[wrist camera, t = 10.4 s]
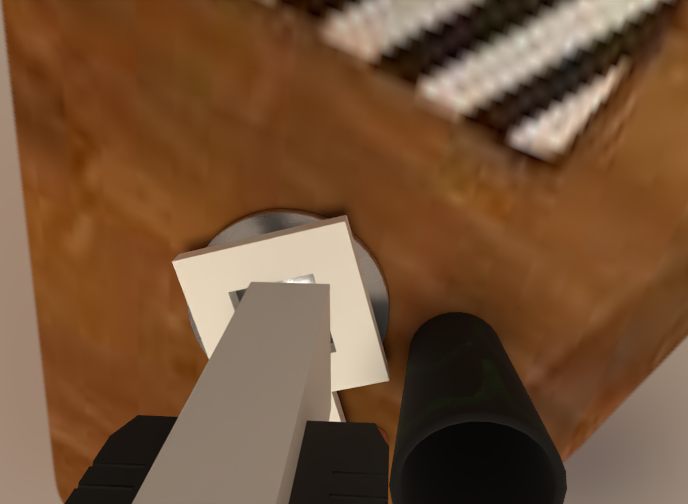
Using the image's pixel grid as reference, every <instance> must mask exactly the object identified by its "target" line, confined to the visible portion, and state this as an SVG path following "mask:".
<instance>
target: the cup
mask: <svg viewBox="0 0 688 504" xmlns="http://www.w3.org/2000/svg"><path fill="white" fill-rule="evenodd" d="M389 486H390V492H391V498H392V503H393V504H563V502H564V498H565V494H566V490H567V484H566V471H565V469H564V465H563V463H562V460H561V457H560V455H559V453H558V451H557V449H556V447H555V445H554V443H553V441H552V439H551V438H550V436H549V434H548V432H547V430H546V428H545V426H544V424H543V422H542V420H541V418H540V416H539V415H538V413H537V411H536V409H535V407H534V405H533V403H532V401H531V399H530V397H529V395H528V393H527V391H526V390H525V388H524V386H523V384H522V382H521V380H520V378H519V376H518V374H517V372H516V370H515V368H514V367H513V365H512V363H511V361H510V359H509V357H508V355H507V353H506V351H505V349H504V347H503V345H502V344H501V342H500V340H499V338H498V336H497V334H496V333H495V331H494V330H493V329H492V327H491V326H490V325H488V324H487V323H486V322H485V321H484V320H482V319H480V318H478V317H476V316H474V315H470V314H466V313H446V314H441V315H438V316H436V317H434V318H432V319H430V320H428V321H427V322H426V323H424V324H423V325H422V326H421V327H420V328H419V329H418V330H417V332H416V333H415V334H414V337H413V339H412V341H411V344H410V350H409V357H408V363H407V370H406V376H405V383H404V390H403V396H402V403H401V409H400V416H399V423H398V429H397V436H396V442H395V449H394V455H393V462H392V469H391V476H390V484H389Z"/></svg>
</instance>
